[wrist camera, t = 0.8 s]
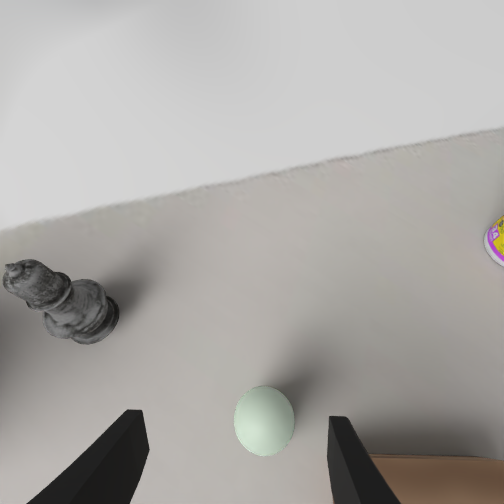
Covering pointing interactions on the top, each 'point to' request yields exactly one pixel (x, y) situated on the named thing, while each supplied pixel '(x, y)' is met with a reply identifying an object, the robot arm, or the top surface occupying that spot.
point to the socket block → (442, 478)
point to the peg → (264, 421)
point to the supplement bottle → (496, 241)
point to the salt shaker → (63, 301)
